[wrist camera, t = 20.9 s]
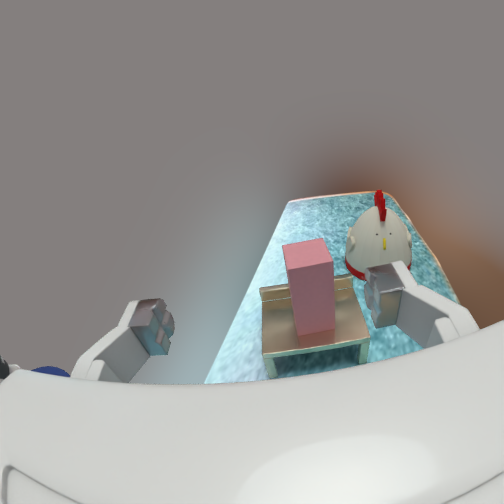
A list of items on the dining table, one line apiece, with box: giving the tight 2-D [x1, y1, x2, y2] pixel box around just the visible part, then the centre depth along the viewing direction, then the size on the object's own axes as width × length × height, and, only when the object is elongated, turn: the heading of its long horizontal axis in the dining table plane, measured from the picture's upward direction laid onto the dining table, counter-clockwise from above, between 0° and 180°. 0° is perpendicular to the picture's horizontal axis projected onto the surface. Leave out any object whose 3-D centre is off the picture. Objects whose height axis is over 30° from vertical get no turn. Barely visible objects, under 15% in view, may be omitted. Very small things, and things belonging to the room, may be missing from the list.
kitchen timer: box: [345, 190, 412, 281], centre depth 50 cm, size 14×14×15 cm
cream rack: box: [260, 273, 370, 378], centre depth 39 cm, size 14×11×8 cm
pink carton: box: [282, 238, 335, 336], centre depth 35 cm, size 5×5×11 cm
